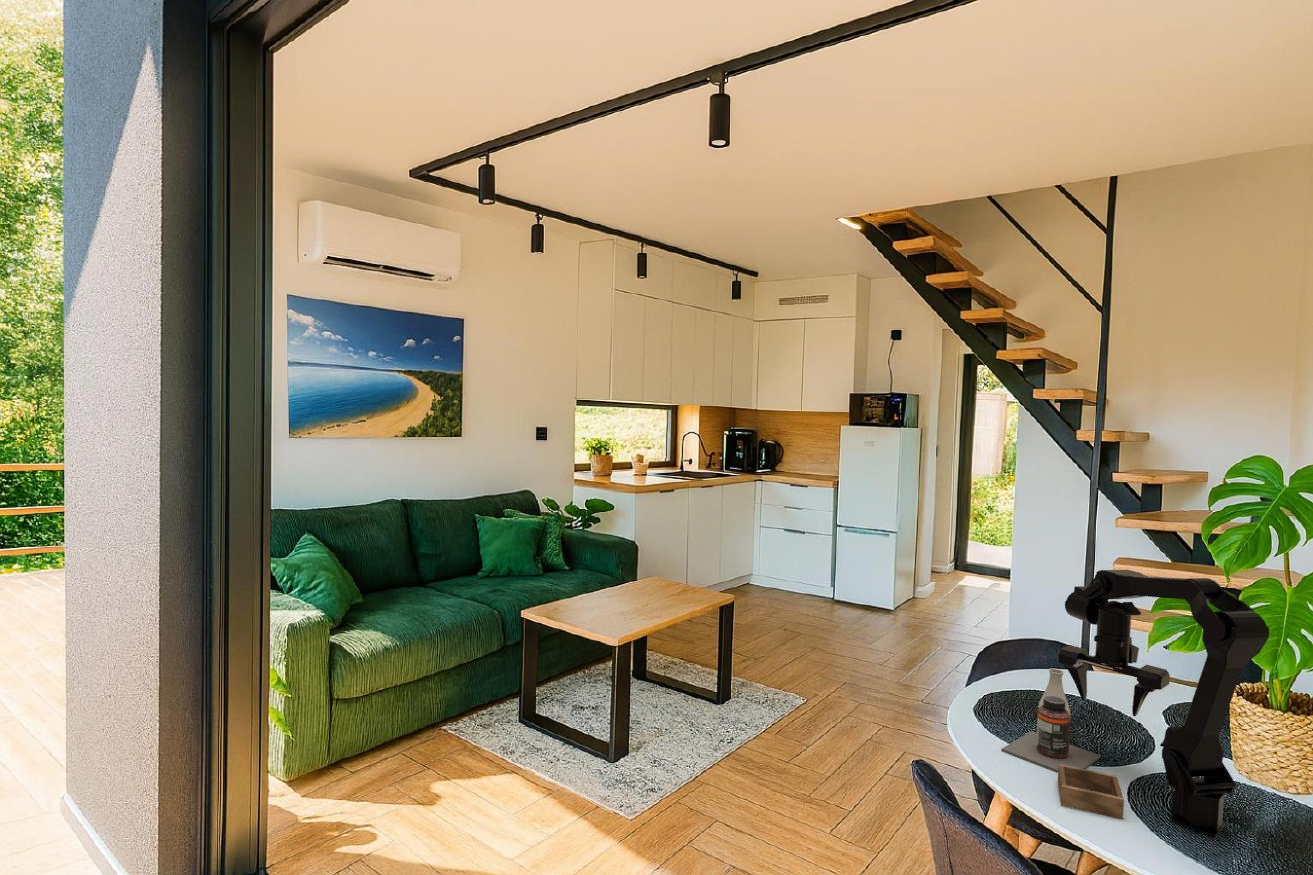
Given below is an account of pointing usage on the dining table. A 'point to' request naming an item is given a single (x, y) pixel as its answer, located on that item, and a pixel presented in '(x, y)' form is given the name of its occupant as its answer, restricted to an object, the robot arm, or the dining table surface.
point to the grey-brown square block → (1029, 752)
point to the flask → (1055, 687)
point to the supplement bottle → (1053, 728)
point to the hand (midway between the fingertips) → (1108, 707)
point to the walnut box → (1090, 799)
